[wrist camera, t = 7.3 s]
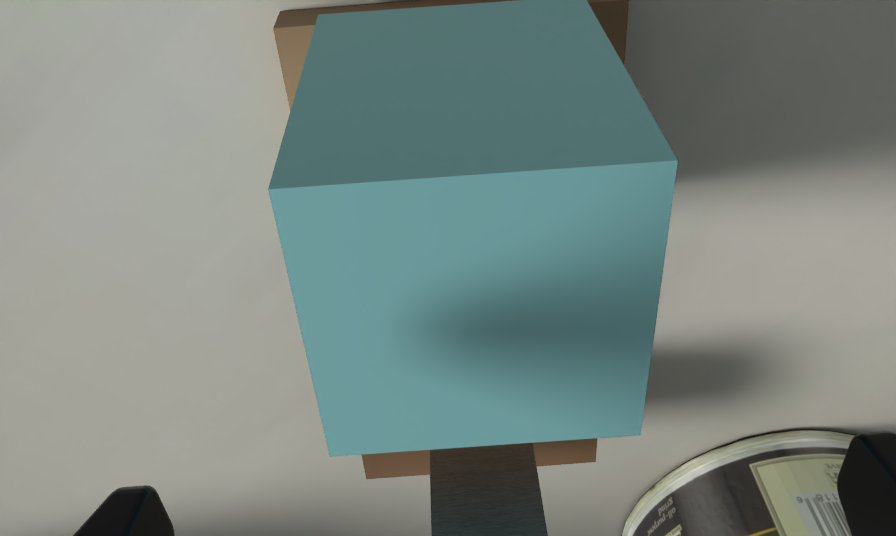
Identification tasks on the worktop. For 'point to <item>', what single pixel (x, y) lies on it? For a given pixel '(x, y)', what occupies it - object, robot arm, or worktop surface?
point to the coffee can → (751, 490)
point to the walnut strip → (292, 48)
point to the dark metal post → (486, 491)
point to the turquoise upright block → (472, 227)
